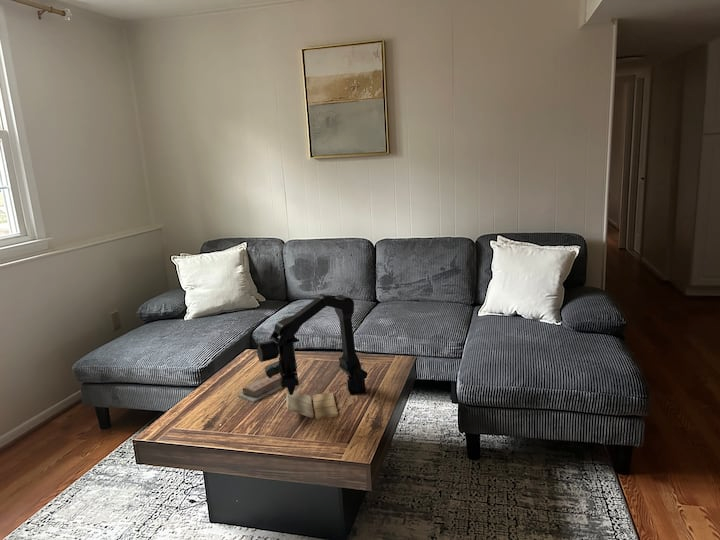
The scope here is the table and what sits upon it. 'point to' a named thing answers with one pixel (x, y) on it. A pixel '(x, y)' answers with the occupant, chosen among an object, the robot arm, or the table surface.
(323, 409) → the laid board
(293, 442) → the table surface
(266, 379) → the packaged product
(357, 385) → the robot arm
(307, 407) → the beige grooved panel
